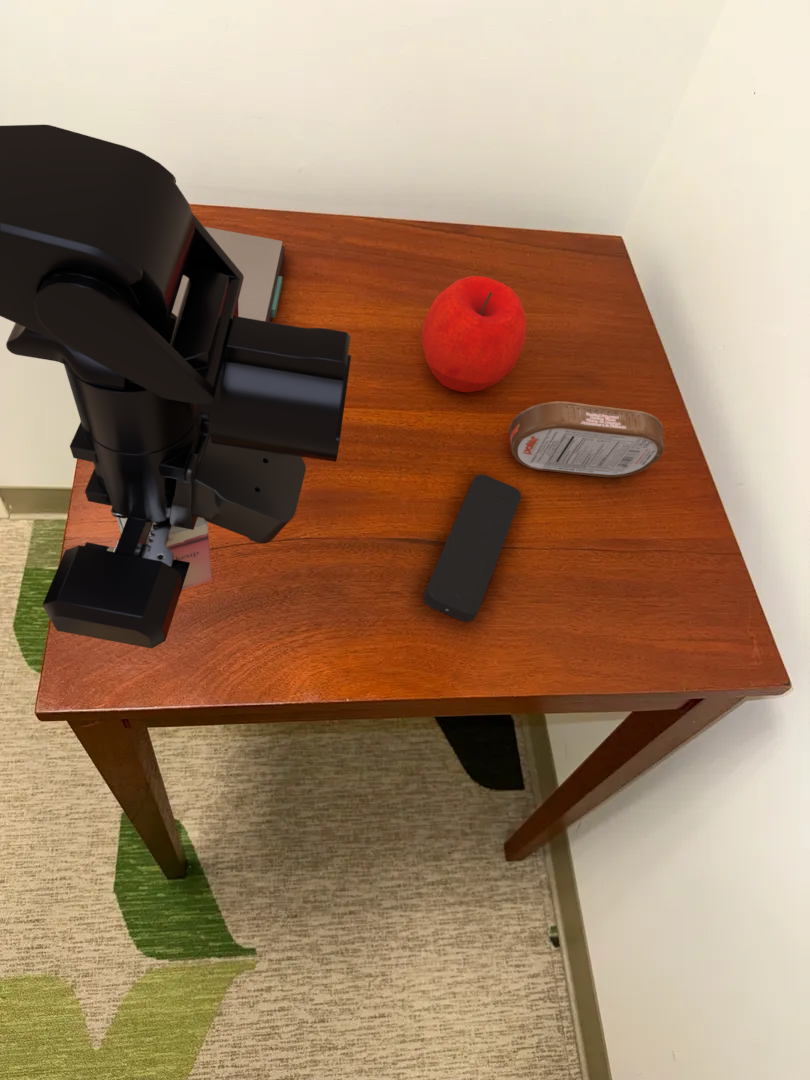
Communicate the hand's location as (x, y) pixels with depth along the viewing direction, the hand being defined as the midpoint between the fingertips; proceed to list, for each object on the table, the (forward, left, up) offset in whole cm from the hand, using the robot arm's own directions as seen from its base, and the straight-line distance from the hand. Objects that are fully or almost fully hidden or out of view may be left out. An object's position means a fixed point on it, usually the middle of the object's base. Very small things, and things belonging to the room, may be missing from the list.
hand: (167, 555), depth 52 cm
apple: (+22, +31, -12) cm, 40 cm away
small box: (0, 0, -2) cm, 2 cm away
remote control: (+24, +11, -12) cm, 29 cm away
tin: (+34, +22, -12) cm, 42 cm away
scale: (-3, +37, -12) cm, 39 cm away
